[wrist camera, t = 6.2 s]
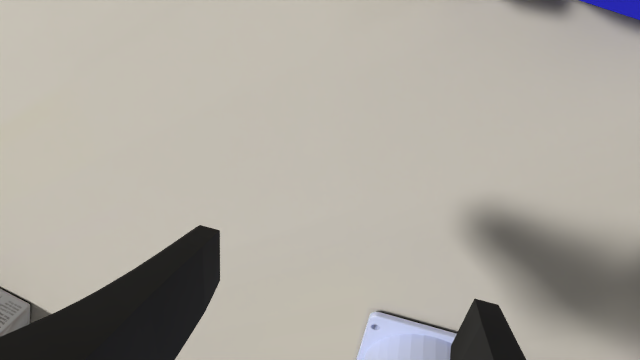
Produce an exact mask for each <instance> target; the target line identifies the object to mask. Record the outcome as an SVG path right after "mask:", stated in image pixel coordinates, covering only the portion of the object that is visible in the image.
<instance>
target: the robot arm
mask: <svg viewBox="0 0 640 360" xmlns="http://www.w3.org/2000/svg"><path fill="white" fill-rule="evenodd" d="M219 281H220V230H216V229H212V228H208V227H205V226H201V225H199V226H198V227H196V228H195V229H193V230H192V231H190V232H189V233H187V234H186V235H184V236H183V237H181V238H180V239H178V240H177V241H176V242H174V243H173V244H171V245H170V246H168V247H167V248H165V249H164V250H162V251H161V252H159V253H158V254H156V255H155V256H153V257H152V258H150V259H149V260H147V261H146V262H144V263H143V264H141V265H139V266H138V267H136V268H135V269H133V270H132V271H130V272H128V273H127V274H125V275H123V276H122V277H120V278H118V279H117V280H115V281H113V282H112V283H110V284H108V285H107V286H105V287H103V288H102V289H100V290H98V291H96V292H94V293H93V294H91V295H89V296H87V297H85V298H83V299H81V300H80V301H78V302H76V303H74V304H72V305H70V306H68V307H66V308H64V309H62V310H60V311H58V312H56V313H53V314H51V315H49V316H47V317H45V318H42V319H40V320H38V321H36V322H33V323H31V324H29V325H26V326H24V327H22V328H19V329H17V330H15V331H13V332H10V333H8V334H5V335H3V336H1V337H0V360H175V358H176V357H177V355H178V354H179V352H180V350H181V349H182V347H183V346H184V344H185V343H186V341H187V339H188V338H189V336H190V335H191V333H192V332H193V330H194V328H195V327H196V325H197V324H198V322H199V320H200V319H201V317H202V316H203V314H204V312H205V310H206V308H207V306H208V304H209V302H210V300H211V298H212V296H213V294H214V292H215V290H216V288H217V285H218V283H219ZM375 324H376V325H375ZM356 360H526V358H525V356H524V354H523V352H522V351H521V349H520V347H519V345H518V343H517V341H516V339H515V337H514V335H513V333H512V331H511V329H510V327H509V325H508V323H507V321H506V319H505V317H504V315H503V313H502V311H501V309H500V307H499V306H498V305H496V304H492V303H489V302H485V301H481V300H477V299H474V301H473V303H472V305H471V307H470V309H469V311H468V313H467V315H466V317H465V319H464V321H463V323H462V325H461V327H460V329H459V331H458V333H457V334H456V333H452V332H449V331H445V330H442V329H438V328H435V327H431V326H427V325H424V324H420V323H417V322H413V321H409V320H406V319H402V318H399V317H395V316H392V315H388V314H384V313H381V312H373V313H371V314H370V316H369V319H368V322H367V326H366V329H365V332H364V336H363V339H362V342H361V346H360V349H359V352H358V355H357V359H356Z"/></svg>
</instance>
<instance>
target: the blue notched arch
mask: <svg viewBox="0 0 640 360" xmlns="http://www.w3.org/2000/svg"><path fill="white" fill-rule="evenodd" d="M580 1H583V2H586V3H589V4H592V5H595V6H598V7H601V8H605V9H608V10H611V11H614V12H617V13H620V14H623V15H626V16H629V17H632V18H635V19H638V20H640V0H580Z"/></svg>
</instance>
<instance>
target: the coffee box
mask: <svg viewBox="0 0 640 360" xmlns="http://www.w3.org/2000/svg"><path fill="white" fill-rule="evenodd" d="M29 324H30V304H29V303H27V302H25V301H23V300H21V299H19V298H17V297H15V296H13V295H11V294H10V293H8V292H6V291H4V290H2V289H0V337H1V336H3V335H5V334H8V333H10V332H13V331H15V330H17V329H19V328H22V327H24V326H26V325H29Z"/></svg>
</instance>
